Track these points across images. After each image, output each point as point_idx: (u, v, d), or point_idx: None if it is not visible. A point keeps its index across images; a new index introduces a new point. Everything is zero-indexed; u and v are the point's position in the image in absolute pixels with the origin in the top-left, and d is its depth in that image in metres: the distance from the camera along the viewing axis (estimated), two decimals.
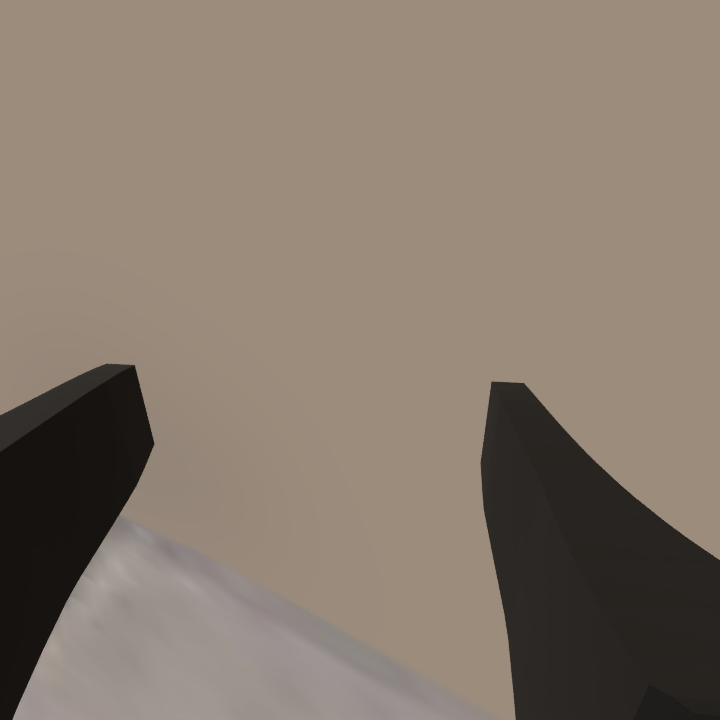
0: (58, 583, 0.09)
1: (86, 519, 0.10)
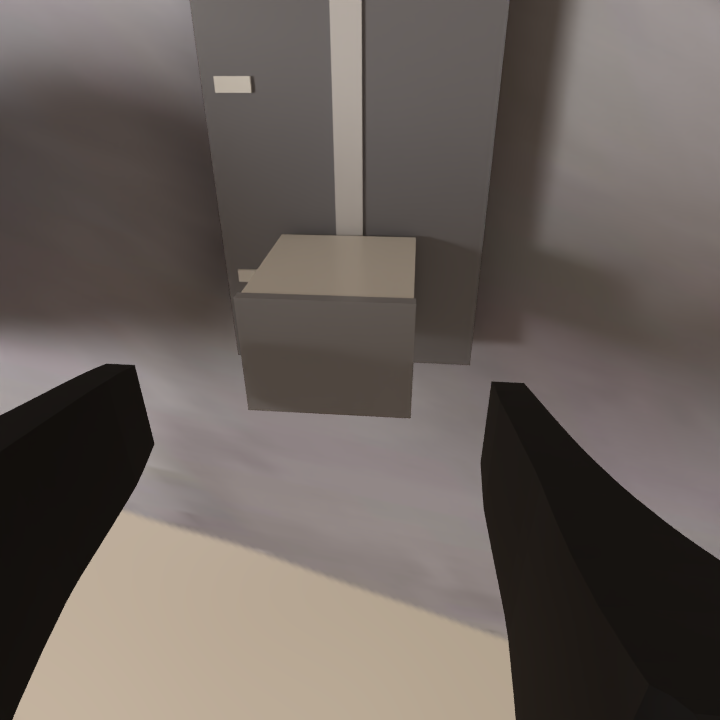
0: (58, 583, 0.09)
1: (86, 519, 0.10)
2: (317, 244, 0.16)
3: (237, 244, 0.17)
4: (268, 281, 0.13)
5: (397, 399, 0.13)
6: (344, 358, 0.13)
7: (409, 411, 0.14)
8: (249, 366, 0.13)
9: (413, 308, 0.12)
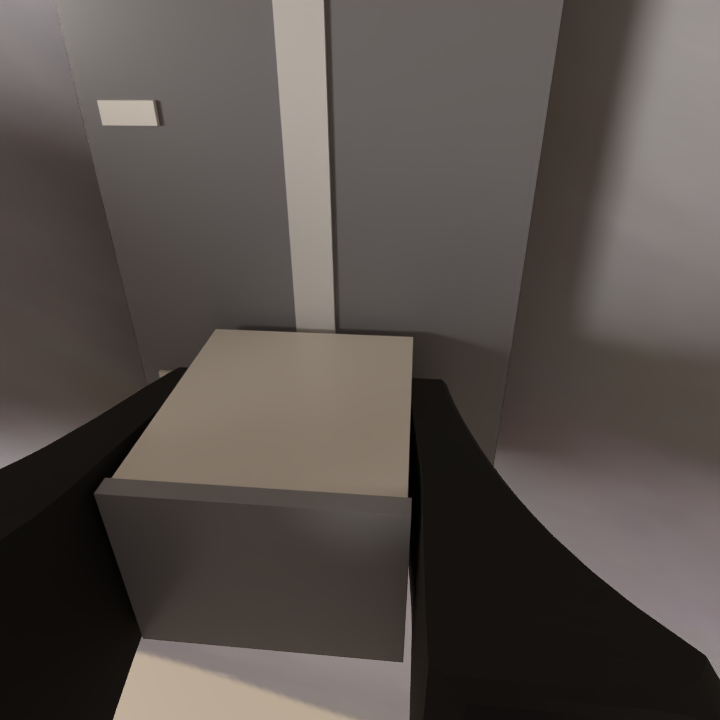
0: None
1: None
2: (264, 352, 0.10)
3: (155, 338, 0.12)
4: (167, 444, 0.08)
5: (381, 638, 0.08)
6: (290, 583, 0.08)
7: (401, 653, 0.08)
8: (136, 585, 0.08)
9: (406, 520, 0.07)
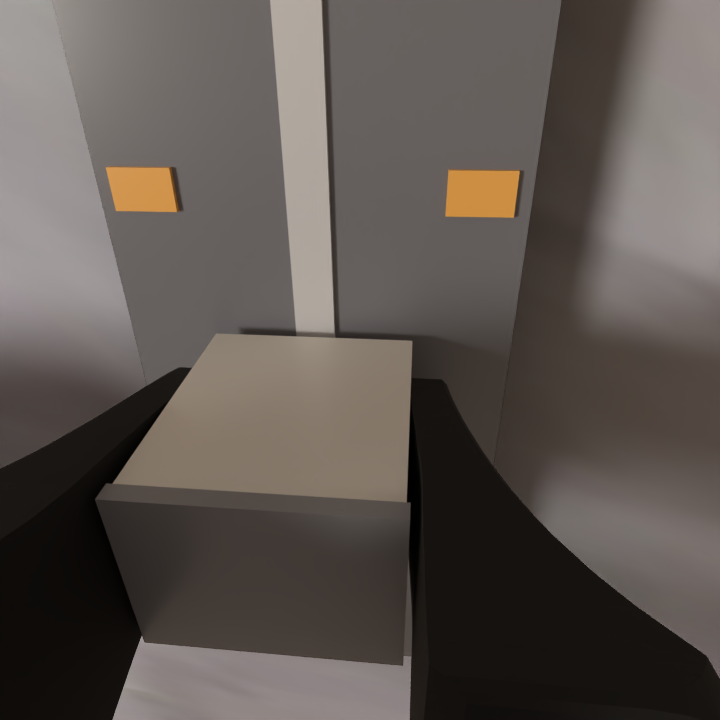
0: None
1: None
2: (264, 356, 0.10)
3: None
4: (168, 449, 0.08)
5: (381, 642, 0.08)
6: (290, 587, 0.08)
7: (401, 657, 0.08)
8: (137, 589, 0.08)
9: (405, 525, 0.07)
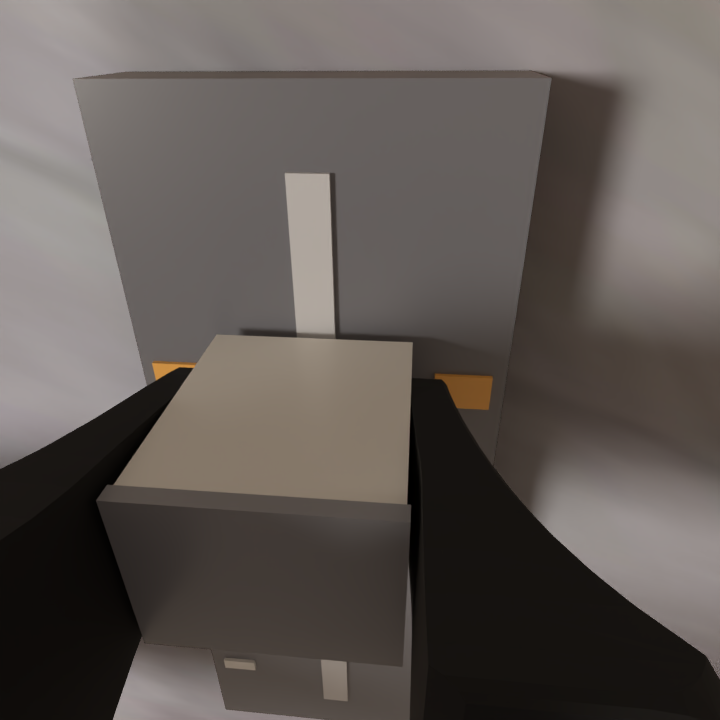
0: None
1: None
2: (264, 357, 0.10)
3: None
4: (168, 451, 0.08)
5: (380, 643, 0.08)
6: (290, 588, 0.08)
7: (400, 658, 0.08)
8: (137, 590, 0.08)
9: (405, 527, 0.07)
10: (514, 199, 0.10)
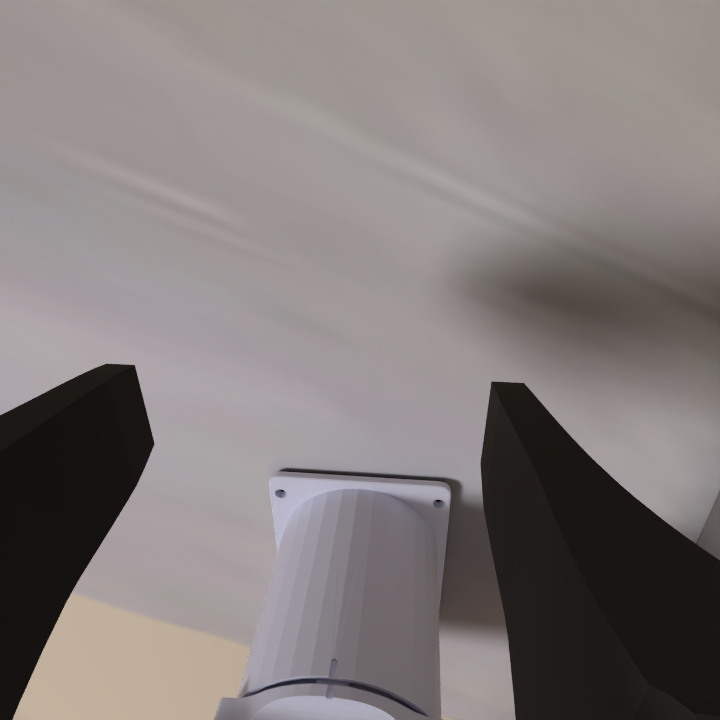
0: (58, 583, 0.09)
1: (86, 519, 0.10)
2: None
3: None
4: None
5: None
6: None
7: None
8: None
9: None
10: None
